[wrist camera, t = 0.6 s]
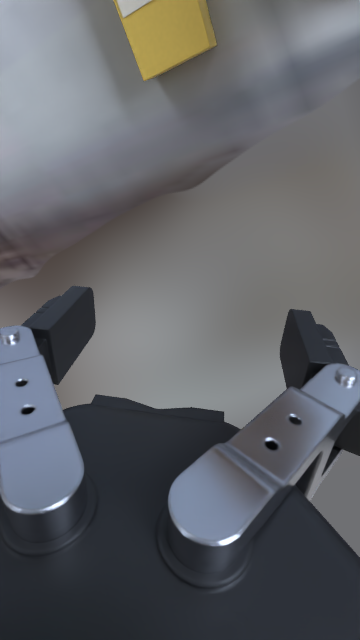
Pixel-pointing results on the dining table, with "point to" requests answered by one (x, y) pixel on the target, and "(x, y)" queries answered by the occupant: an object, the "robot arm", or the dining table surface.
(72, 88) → the dining table surface
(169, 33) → the packet
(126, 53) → the dining table surface
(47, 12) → the dining table surface
